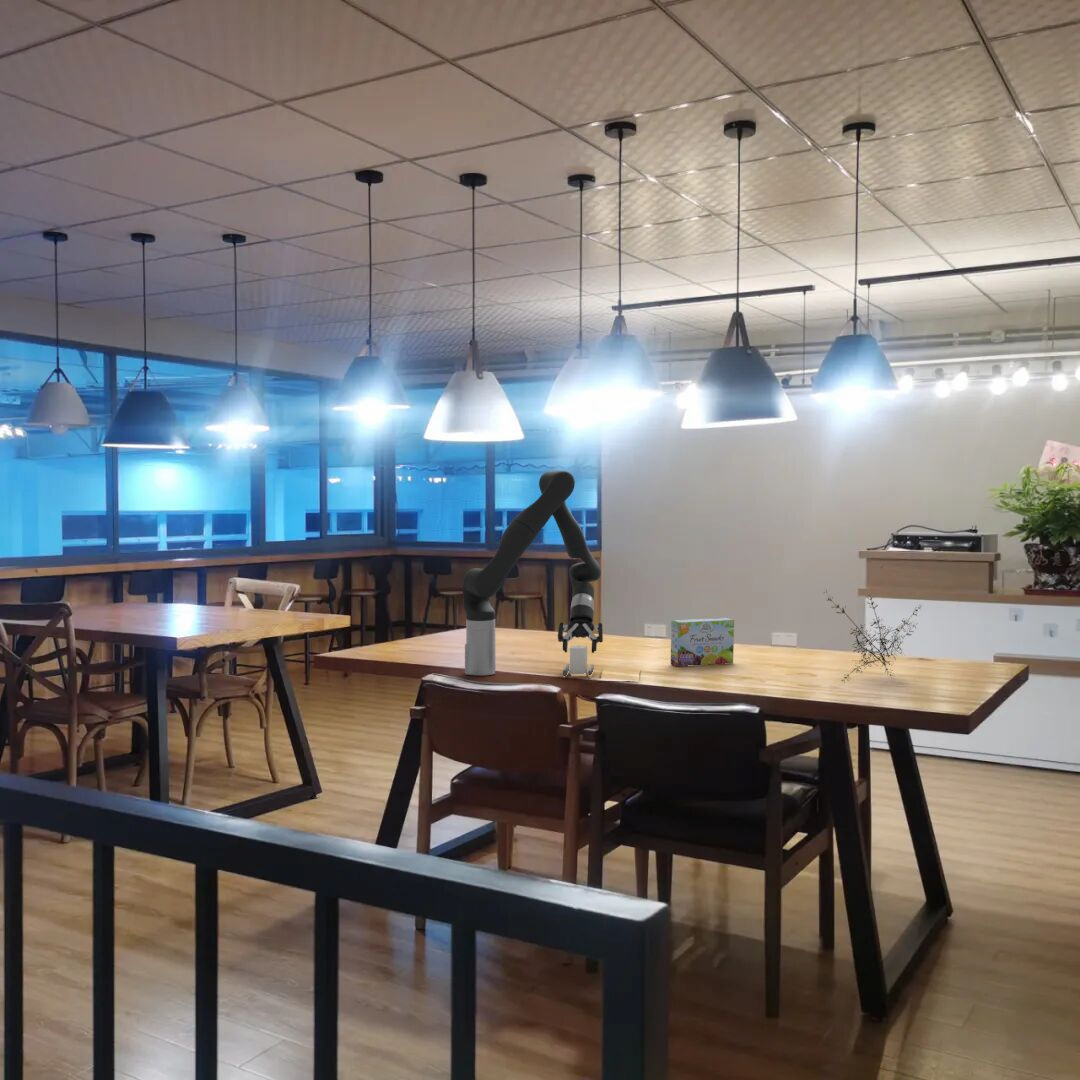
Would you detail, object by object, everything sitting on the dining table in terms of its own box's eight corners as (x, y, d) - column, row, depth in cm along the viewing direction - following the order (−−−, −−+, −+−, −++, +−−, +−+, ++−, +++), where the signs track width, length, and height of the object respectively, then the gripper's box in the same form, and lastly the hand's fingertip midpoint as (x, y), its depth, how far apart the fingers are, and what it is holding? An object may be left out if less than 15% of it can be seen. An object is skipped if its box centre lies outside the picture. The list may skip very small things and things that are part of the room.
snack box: (678, 667, 345) (678, 621, 344) (670, 665, 350) (670, 619, 350) (734, 663, 353) (734, 618, 352) (725, 661, 358) (725, 616, 358)
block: (569, 676, 328) (569, 647, 328) (571, 674, 333) (571, 645, 333) (586, 677, 328) (585, 648, 327) (587, 674, 333) (587, 645, 332)
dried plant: (851, 614, 342) (820, 564, 305) (952, 628, 326) (932, 578, 289) (832, 704, 333) (797, 665, 297) (935, 724, 318) (912, 684, 281)
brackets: (563, 678, 325) (563, 670, 325) (566, 671, 337) (566, 664, 337) (590, 679, 324) (590, 670, 324) (593, 672, 336) (593, 664, 336)
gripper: (559, 603, 341) (555, 643, 330) (603, 603, 340) (601, 644, 329) (561, 617, 347) (557, 658, 336) (604, 618, 345) (602, 658, 334)
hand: (579, 651), depth 332 cm, fingers open, 8 cm apart
